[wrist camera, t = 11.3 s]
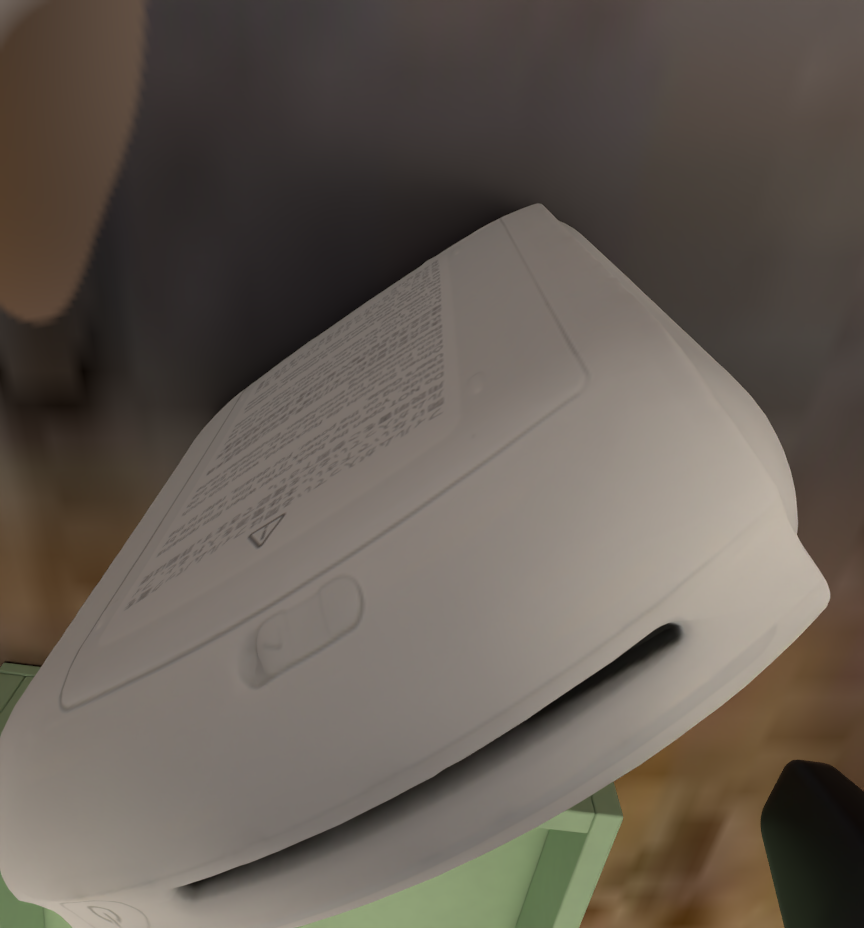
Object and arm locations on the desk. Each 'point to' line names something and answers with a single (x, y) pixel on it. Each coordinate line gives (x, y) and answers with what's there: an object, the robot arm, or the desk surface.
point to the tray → (452, 893)
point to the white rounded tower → (408, 602)
